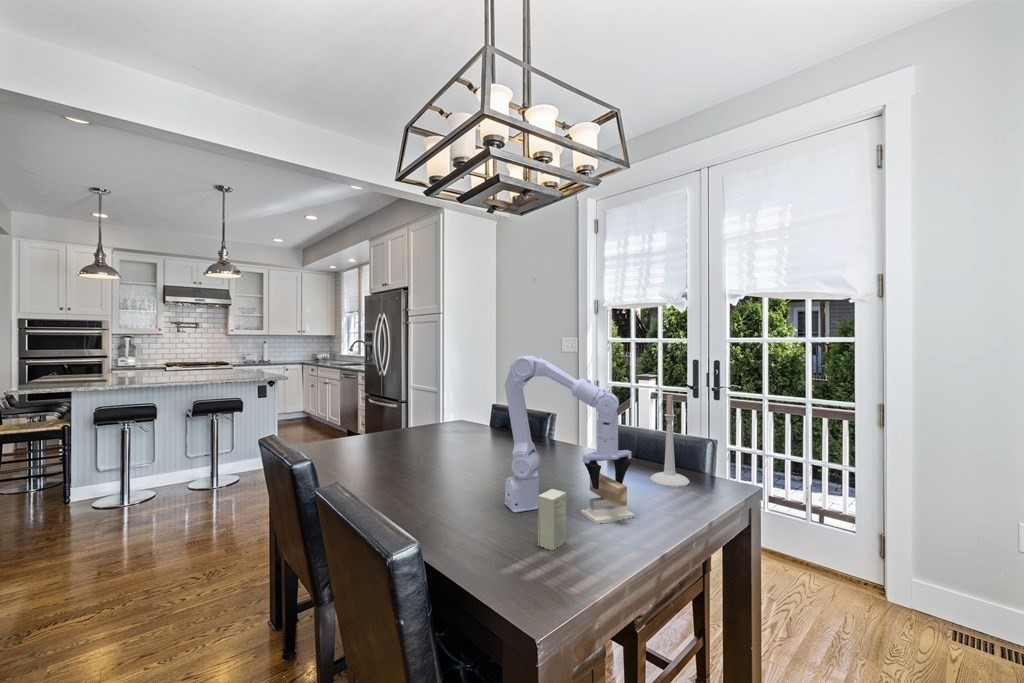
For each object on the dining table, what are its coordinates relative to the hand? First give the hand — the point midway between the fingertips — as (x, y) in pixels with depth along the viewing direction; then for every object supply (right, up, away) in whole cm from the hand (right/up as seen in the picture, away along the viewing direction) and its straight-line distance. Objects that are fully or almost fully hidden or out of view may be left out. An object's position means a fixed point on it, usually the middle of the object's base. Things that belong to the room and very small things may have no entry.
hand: (607, 486), depth 125 cm
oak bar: (0, -3, 0) cm, 3 cm away
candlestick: (+28, -8, +30) cm, 42 cm away
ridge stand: (0, -8, 0) cm, 8 cm away
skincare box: (-17, -9, -17) cm, 26 cm away
